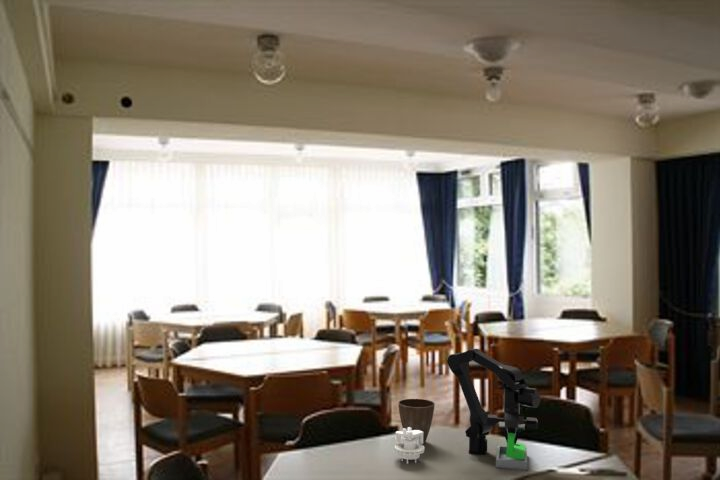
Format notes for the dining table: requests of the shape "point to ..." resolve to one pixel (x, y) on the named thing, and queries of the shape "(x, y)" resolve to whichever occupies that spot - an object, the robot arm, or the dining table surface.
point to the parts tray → (509, 460)
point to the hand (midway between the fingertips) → (511, 444)
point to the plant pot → (417, 415)
